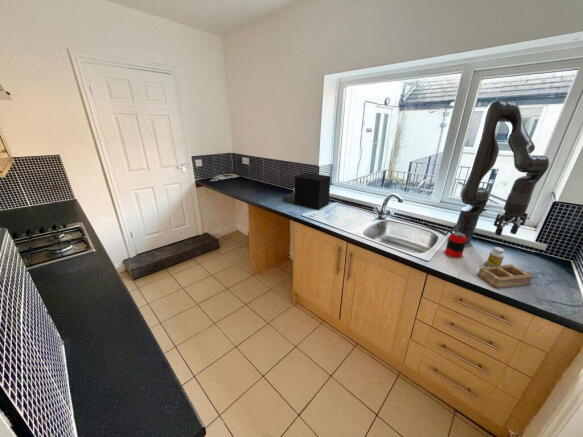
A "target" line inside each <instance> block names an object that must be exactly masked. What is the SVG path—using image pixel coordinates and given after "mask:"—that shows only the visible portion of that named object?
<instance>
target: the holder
mask: <svg viewBox="0 0 583 437" xmlns="http://www.w3.org/2000/svg"><path fill="white" fill-rule="evenodd" d="M477 276H478V277H480V278H481V279H483V280H484V281H486V282H487V283H489V284H490V285H492V286H493V287H494V288H496V289H501V288H508V287H516V286H523V285H531V282H532V280H533V278H534V275H531V274H530V273H528V272H526V271H525V270H522V269H521V268H519V267H517V266H515V265H513V264H503V265H502V264H501V266H492V267H489V266H486V267H485V266H484V267H480V268H479V270H478V273H477Z"/></svg>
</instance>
